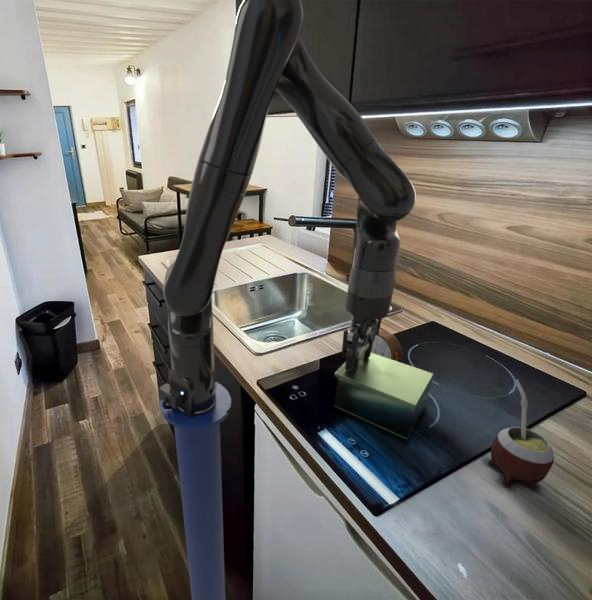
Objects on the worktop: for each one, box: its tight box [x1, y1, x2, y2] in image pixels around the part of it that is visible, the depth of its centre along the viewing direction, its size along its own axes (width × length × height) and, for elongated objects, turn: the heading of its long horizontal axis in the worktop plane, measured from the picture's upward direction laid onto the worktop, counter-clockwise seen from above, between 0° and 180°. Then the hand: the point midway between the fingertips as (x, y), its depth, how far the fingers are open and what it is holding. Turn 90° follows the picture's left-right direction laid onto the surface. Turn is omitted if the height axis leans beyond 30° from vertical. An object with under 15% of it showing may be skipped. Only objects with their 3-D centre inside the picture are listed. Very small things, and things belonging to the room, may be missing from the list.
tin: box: [359, 326, 403, 363], centre depth 89 cm, size 15×3×8 cm, turn 17°
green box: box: [333, 378, 433, 443], centre depth 73 cm, size 14×12×8 cm
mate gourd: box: [487, 378, 555, 490], centre depth 56 cm, size 8×8×15 cm
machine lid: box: [333, 341, 435, 409], centre depth 70 cm, size 14×12×5 cm
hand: (357, 363), depth 74 cm, fingers closed on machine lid, 6 cm apart
